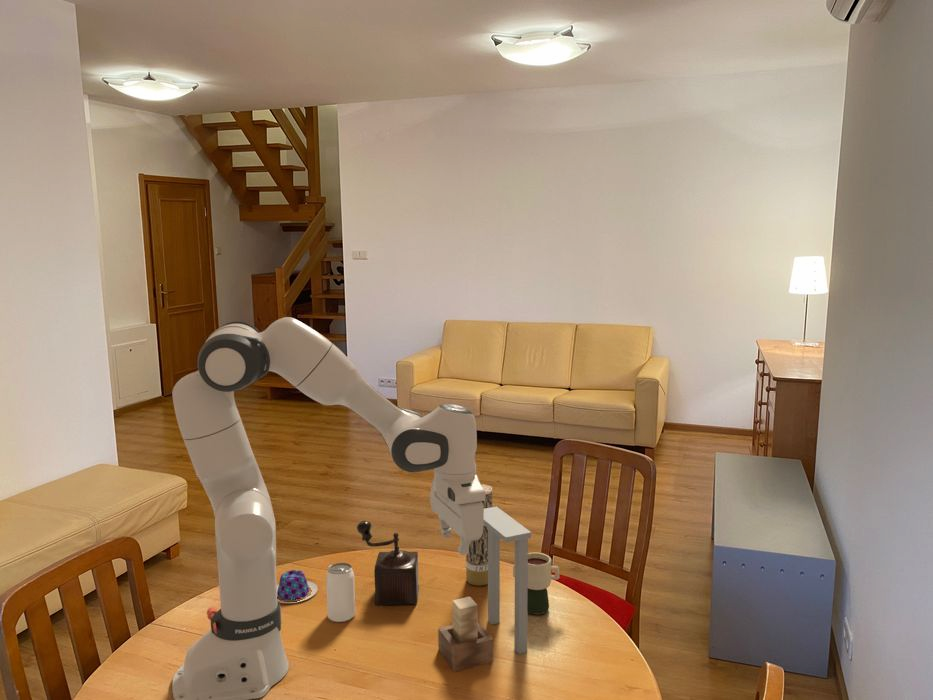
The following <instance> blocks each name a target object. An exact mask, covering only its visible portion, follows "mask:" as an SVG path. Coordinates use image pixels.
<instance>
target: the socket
mask: <svg viewBox="0 0 933 700" xmlns="http://www.w3.org/2000/svg"><path fill="white" fill-rule="evenodd" d="M437 632H438V633H437V634H438V636H437V639H438V640H437V641H438V644H437V645H438V651H439V652H440V654H441V655H442V656H443V658H444V659H445V661H446V662H447V663H448V665H449V666H450V668H451V669H452V671H454V672H456V673H457V672H458V671H462V670H466V669H470V668H473V667H477V666H481V665H484V664H489V663H491V662H494V639H493V638H492V636H491V635H490V633H488V631H486V630H485V628H484V627H483V626H482V625H481V623H479V622H478V639H476V640H472V641H468V642H464V643H460V644H457V642H456V641H455V640H454V638H453V624H450V625H446V626H445V625H444V626H441V627H438V630H437Z"/></svg>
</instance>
